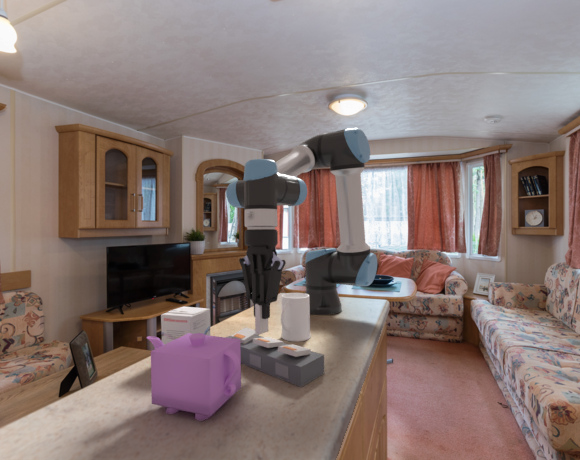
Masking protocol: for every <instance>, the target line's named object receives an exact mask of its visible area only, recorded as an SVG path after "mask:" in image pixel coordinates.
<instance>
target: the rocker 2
mask: <svg viewBox="0 0 580 460" xmlns="http://www.w3.org/2000/svg"><path fill="white" fill-rule="evenodd" d="M263 337H264V338H253V343H254V344H257V345H261V346H264V347H267V348H271V347H278V346H283V343H284V341H282V340H279V339H276V338H273V337H270V336H269V337H268V336H266V337H265V336H263Z"/></svg>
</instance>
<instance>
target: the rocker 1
mask: <svg viewBox="0 0 580 460" xmlns="http://www.w3.org/2000/svg"><path fill="white" fill-rule="evenodd" d="M230 336H231V338H233V339H240V343H243V344H245V343H247V342H249V341H250V340H252V339H253V338H255V337H257V336H261V334H257V333H255V329H254V328H250V327H246V326H245V327H243V328H242V329H240V330H238V331H236V332H235V333H233V334H231V335H230Z"/></svg>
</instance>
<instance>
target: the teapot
mask: <svg viewBox="0 0 580 460" xmlns="http://www.w3.org/2000/svg"><path fill="white" fill-rule="evenodd" d="M146 339H147V340H148V341H150V342H151V343H152V345H153V348H154V349H153V350H151V351H150V379H151V380H150V382H151V385H150V387H151V404H152V405H155V406H158V407H159V406H161V407H166V409H165V413H166V414H169V415H173V414H177V413H179V412H180V411H183V412H188V413H190V414H191V413H192V414H194V418H195V420H196V419H197V420H196V421H199V420H200V421H201V420H202V421H206V420H207V419H209V418H210V417H212V416H213V415H214V414H215V413H216V412H217V411H218V410H219V409H220V408H221V407H222V406H223V405H224V404H225V403H227V402H228V401H229V400H230V399H231V398H232V397H233V396H234V395H235V394H236V393H237V392H238V391H239V390H240V389H242V371H241V370H242V366H241V365H242V364H241V350H240V339H233V338H225V337H224V336H215V335H210V336H208V335H205V334H203V333H195V334H191V333H188V334H186V335H184V336H181V337H179V338H177V339H175V340H173V341H171V342H169V343H167V344H165V345H164V344H163V342H162V339H160V338H159V337H157V336H153V335H151V336H150V335H149V336H146ZM205 419H206V420H205Z"/></svg>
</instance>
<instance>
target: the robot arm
mask: <svg viewBox="0 0 580 460" xmlns="http://www.w3.org/2000/svg"><path fill="white" fill-rule="evenodd" d="M370 159H371V148H370V143H369V140H368V137H367V136H366V133H365V132H364V131H363V130H362V129H360V128H359V127H354V128H353V127H351V128H345V129H340V130H335V131H331V132H327V133H321V134H320V133H319V134H317V135H315V136H312V137H311V138H308V139H306V140H305V141H303V142H302V143H299V144H298V145H295V146H294V147H293V148H292V149H291V151H290V152H289V153H288V154H287V155H285V156H283V157H282V158H280V159H279V160H277V161H275V160H273V159H268V158H255V159H250V160H247V161H246V162H245V163H244V171H243V180H240V179H239V180H236V181H233V182H230V183H229V184H228V185H227V187H226V191H225V197H226V198H227V199H226V200H227V201H228V202H227V203H228V204H229V205H230V206H231V207H233V208H242V209H244V227H245V228H247V229H245V230H244V246H246V247H247V250H246V254H245V256H244V257H240V258H239V260H238V261H239V264H240V266H241V269H242V277H243V283H244V288H245V289H244V290H245V294H246V299H247V300H251V302H252V303H253V317H254V319H255V321H254V324H255V326H254V327H255V329H254V330H255V333H257V334H260V335H261V334H265V333H268V332H269V319H270V317H271V304H272V303H274V302H277V301H278V297H279V290H280V286H281V285H280V284H281V280H282V274H283V270H284V268H285V266H286V260H285V259H281V258H279V256H278V253H277V249H276V246H277V245H278V243H279V242H278V239H279V236H278V233H279V231H278V230H277V229H276V228H278V225H279V223H278V222H279V221H278V207H279V206H288V207H296V206H301V205H302V204H303V203H304V202H305V200H306V199H307V196H308V187H307V184H306V182H305V181H304V180H303V179H301V178H299V177H298V176H299V175H301V174H303V173H308V172H310V171H312V170H317V169H325V168H329V171H330V173H331V174H332V175H334V177H335V188H336V200H337V201H336V202H337V214H338V215H337V216H338V226H339V238H340V239H339V241H340V244H339V245H338V247H337V248H335V247H333V248H322V249H316V250H315V249H314V250H310V251H307V252H306V254H305V261H304V265H305V292H304V293H306V294H309V303H310V315H319V316H320V315H323V316H325V315H326V316H327V315H333V314H335V315H336V314H338V313H341V312H342V311H343V310H342V308H343V307H342V303H341V299H340V296H339V292H338V290H337V289H338V286H337V285H345V286H346V285H347V286H355V287H369V286H370V285H371V284H373V282H374V280H375V277H376V275H377V269H378V258H377V254H375V253H373V252H371V246H370V245H368V244H367V243H366V234H365V233H366V232H365V231H366V230H365V219H364V217H365V216H364V204H363V202H364V201H363V190H362V189H363V188H362V172H363V171H365V166H366V165H365V164H367V163H368V162H369V161H370Z"/></svg>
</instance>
